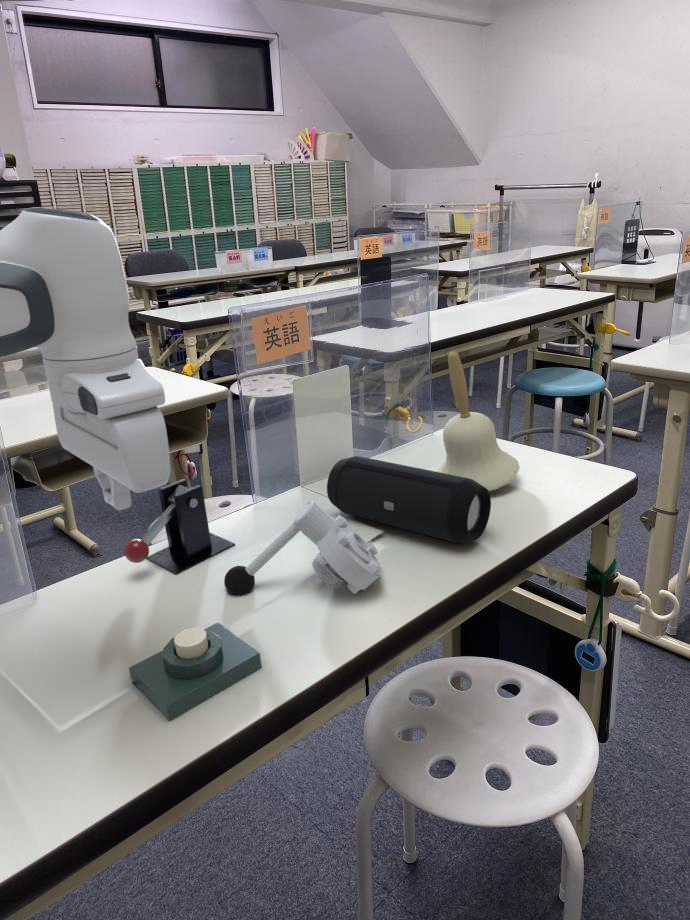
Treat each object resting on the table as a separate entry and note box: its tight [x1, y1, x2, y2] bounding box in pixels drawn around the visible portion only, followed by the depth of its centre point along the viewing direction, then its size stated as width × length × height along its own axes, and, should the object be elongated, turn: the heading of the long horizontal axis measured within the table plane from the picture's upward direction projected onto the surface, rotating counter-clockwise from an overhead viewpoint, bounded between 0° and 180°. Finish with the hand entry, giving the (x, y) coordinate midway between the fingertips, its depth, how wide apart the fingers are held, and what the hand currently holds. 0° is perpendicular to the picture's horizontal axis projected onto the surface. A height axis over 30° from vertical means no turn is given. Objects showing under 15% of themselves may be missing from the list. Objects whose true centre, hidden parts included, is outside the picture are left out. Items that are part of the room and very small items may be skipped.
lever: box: [123, 485, 189, 564], centre depth 100 cm, size 13×3×3 cm
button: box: [173, 627, 208, 659], centre depth 77 cm, size 4×4×2 cm
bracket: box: [145, 478, 236, 576], centre depth 103 cm, size 11×8×12 cm
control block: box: [128, 622, 263, 722], centre depth 78 cm, size 12×9×4 cm
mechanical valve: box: [223, 500, 383, 596], centre depth 94 cm, size 10×18×15 cm
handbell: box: [436, 350, 520, 492], centre depth 120 cm, size 15×15×25 cm
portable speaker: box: [326, 455, 492, 544], centre depth 109 cm, size 26×10×10 cm, turn 53°
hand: (118, 505), depth 73 cm, fingers closed
